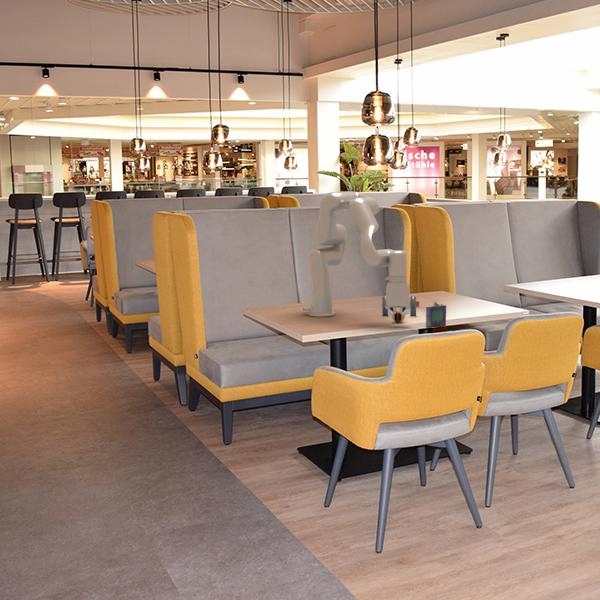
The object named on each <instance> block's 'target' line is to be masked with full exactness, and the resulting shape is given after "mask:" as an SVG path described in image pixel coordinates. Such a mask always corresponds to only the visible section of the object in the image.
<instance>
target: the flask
mask: <svg viewBox="0 0 600 600" xmlns="http://www.w3.org/2000/svg"><path fill="white" fill-rule="evenodd" d="M446 324H447V305H446V304H442V303H438V302H437V301H436V300H435V301H433V305H428V306H427V305H426V307H425V327H426V328H438V327H440V328H441V327H446Z"/></svg>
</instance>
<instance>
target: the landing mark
mask: <svg viewBox="0 0 600 600" xmlns="http://www.w3.org/2000/svg"><path fill="white" fill-rule="evenodd" d="M396 310H400V307H396ZM403 312H404V313H410V309H407V310H404V311H403ZM388 313H393V312H392V311H391V310H390V309H388Z"/></svg>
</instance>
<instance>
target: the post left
mask: <svg viewBox="0 0 600 600" xmlns="http://www.w3.org/2000/svg"><path fill="white" fill-rule="evenodd" d="M381 297H382V301H381V307H382V310H381V311H382V315H381V316H382V317H383V316H387V317H389V314H388V309H386V308H385V306H386V295H385V296H381Z"/></svg>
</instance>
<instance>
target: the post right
mask: <svg viewBox="0 0 600 600" xmlns="http://www.w3.org/2000/svg"><path fill="white" fill-rule="evenodd" d="M416 301H417V296H410V307H411V308H410V314H409V315H410V316H409V317H411V316H416V317H417V307H416Z"/></svg>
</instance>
